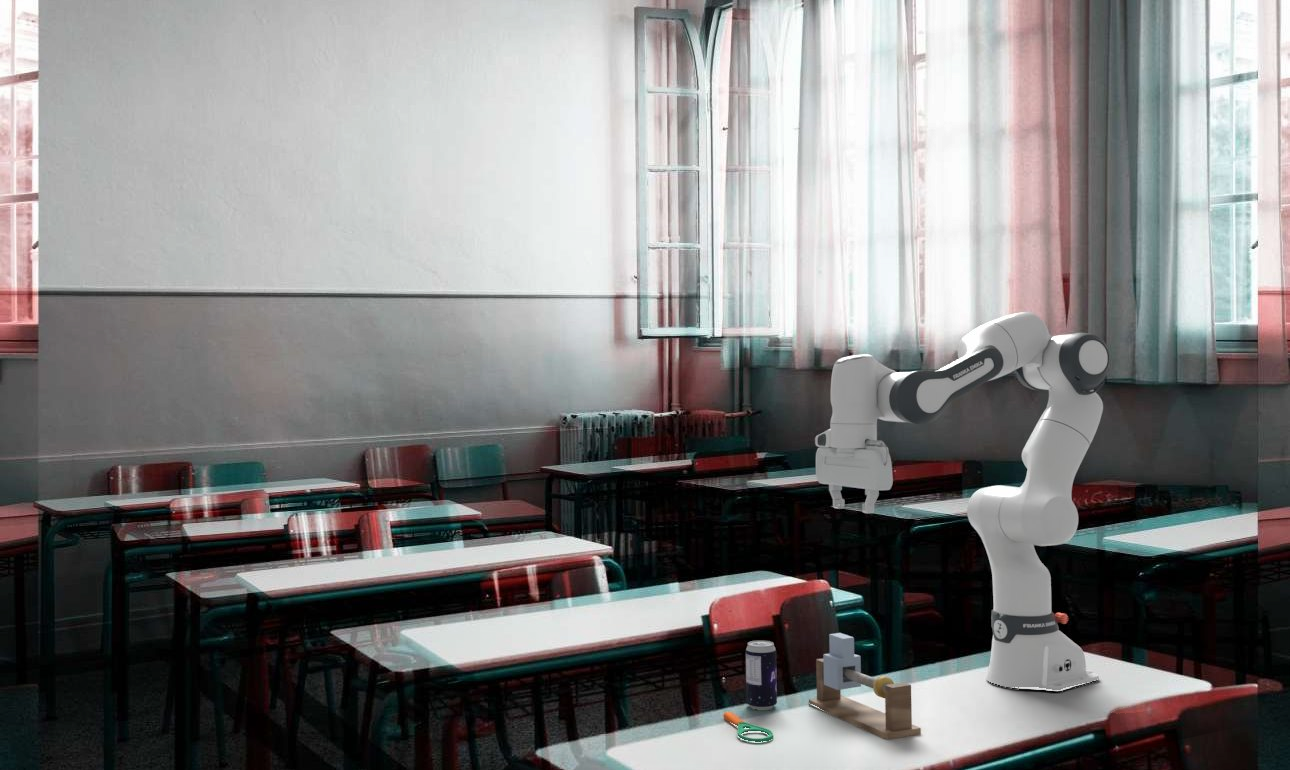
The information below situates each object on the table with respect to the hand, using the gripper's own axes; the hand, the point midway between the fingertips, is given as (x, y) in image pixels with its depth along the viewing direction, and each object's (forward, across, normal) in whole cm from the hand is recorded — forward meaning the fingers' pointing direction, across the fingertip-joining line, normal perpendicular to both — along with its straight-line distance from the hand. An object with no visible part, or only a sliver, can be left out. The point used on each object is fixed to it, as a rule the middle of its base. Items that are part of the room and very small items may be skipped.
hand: (853, 510), depth 219 cm
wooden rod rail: (+36, -12, +6) cm, 38 cm away
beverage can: (+37, +4, +18) cm, 41 cm away
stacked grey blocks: (+32, -5, +6) cm, 33 cm away
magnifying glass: (+37, -7, +28) cm, 47 cm away
